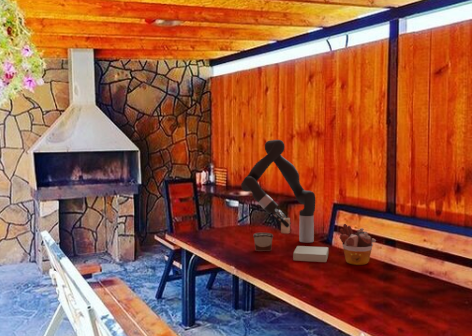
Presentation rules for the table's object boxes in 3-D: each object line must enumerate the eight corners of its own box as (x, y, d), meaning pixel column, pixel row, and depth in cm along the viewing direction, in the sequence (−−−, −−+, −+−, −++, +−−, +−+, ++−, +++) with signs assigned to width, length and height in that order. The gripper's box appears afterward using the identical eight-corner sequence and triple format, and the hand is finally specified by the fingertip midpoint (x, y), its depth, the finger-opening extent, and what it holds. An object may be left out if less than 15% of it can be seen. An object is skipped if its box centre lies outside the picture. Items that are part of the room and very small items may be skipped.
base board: (297, 252, 283) (297, 245, 283) (328, 254, 278) (328, 247, 278) (293, 260, 265) (293, 253, 265) (326, 262, 261) (326, 254, 261)
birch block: (282, 231, 278) (282, 217, 277) (290, 231, 276) (290, 218, 276) (281, 233, 273) (280, 219, 273) (288, 233, 272) (288, 219, 272)
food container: (273, 248, 293) (273, 232, 293) (273, 250, 287) (273, 234, 287) (253, 248, 295) (253, 232, 294) (253, 250, 289) (252, 234, 288)
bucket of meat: (381, 264, 256) (381, 227, 255) (359, 269, 247) (359, 230, 246) (353, 256, 273) (353, 221, 272) (332, 260, 264) (332, 225, 263)
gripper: (270, 201, 269) (291, 223, 266) (274, 197, 282) (295, 218, 280) (261, 210, 270) (282, 232, 268) (266, 206, 284) (286, 227, 282)
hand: (288, 225), depth 274 cm, fingers closed on birch block, 4 cm apart
